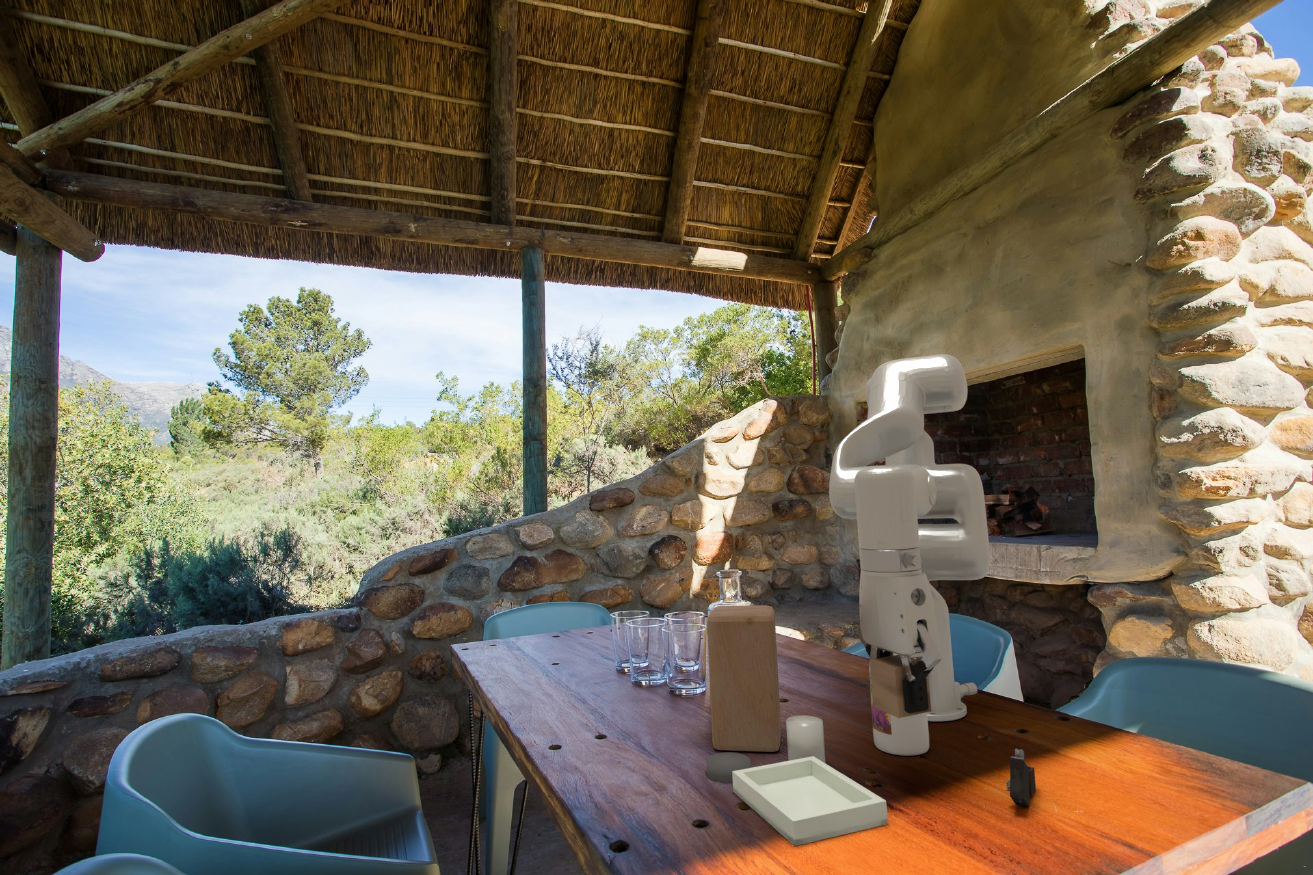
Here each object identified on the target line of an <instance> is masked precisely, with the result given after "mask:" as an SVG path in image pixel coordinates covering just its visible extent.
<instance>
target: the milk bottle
mask: <svg viewBox="0 0 1313 875" xmlns="http://www.w3.org/2000/svg"><path fill="white" fill-rule="evenodd" d="M883 651H884V650H883ZM914 652H915V649H914ZM894 655H899V654H896V653H893V656H894ZM914 659H916V658H914ZM868 664H869V670H868V671H869V691H870V704H871V705H870V707H871V708H870V709H871V718H872V719H871V720H872V721H871V722H872V733H873V734H872V735H873V742H874V746H875V747H876V748H877V749H878V750H879V751H881V752H884V753H887V754H891V755H897V756H906V757H907V756H908V757H909V756H918V755H922V754H925V753H927V752H928V751H929V748H930V734H929V721H928V719H927V712H926V713H922V714H917V715H912V716H907V717H902V718H897V717H895V716H893V715H891V714H889V713H886V712H884V711H882V710H880V709H878V708H876V707H873V699H872V686H871V673H870V663H868Z"/></svg>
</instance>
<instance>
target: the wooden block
mask: <svg viewBox="0 0 1313 875" xmlns="http://www.w3.org/2000/svg"><path fill="white" fill-rule="evenodd" d="M776 630H777V629H776V613H775V609H774V607H773V606H770V605H765V604H764V605H761V604H760V605H718V606H715V607H714V608H713V609H712V611H711V612H710V613H709V615H708V617H707V620H706V631H707V634H706V636H707V650H708V654H707V656H708V673H709V674H708V676H709V696H710V698H709V700H710V714H711V716H710V717H711V718H710V719H711V721H710V722H711V739H712V740H711V741H712V745H713V747H714V749H715V750H718V751H727V752H728V751H729V752H730V751H732V752H759V753H760V752H761V753H763V752H764V753H765V752H766V753H775V752H778V751H779V749H780V746H781V736H782V734H781V733H782V720H781V717H782V716H781V700H780V684H779V683H780V682H779V680H780V679H779V666H778V663H779V662H778V651H777V650H778V647H777V631H776Z"/></svg>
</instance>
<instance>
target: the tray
mask: <svg viewBox="0 0 1313 875" xmlns="http://www.w3.org/2000/svg"><path fill="white" fill-rule="evenodd" d="M732 776H733V783H732V790H733V791H732V792H733V793H734V794H735V795H736V796H738V798H740V799H741V801H743V802H744V803H745V804H746V805H748V806H749V808H750V809H752V810H753V811H754V812H755V813H757V814H758V815H759V816H760V817H761V818H762V819H764V821H766V822H767V823H768V824H769V825H770V826H771V827H773V829H775V830H776V831H777V832H778V833H779V834H781V836H783V838H785V839H786V840H787V841H788V842H789V843H790V844H792V845H793V846H794V847H797V846H800V845H805V844H809V843H814V842H818V841H822V840H827V839H830V838H835V837H839V836H843V835H847V834H852V833H856V832H861V831H864V830H865V831H866V830H869V829H873V828H878V827H882V826H887V825H888V824H889V821H888V820H889V819H888V807H887V800H886V799H884V798H883V797H881V796H879V795H877V794H876V793H874V792H872V791H871V790H870V789H868V788H866V787H864V786H863V785H861V784H859V783H858V782H856V781H855V780H853V779H852V778H849V777H848V776H846V775H845V774H843V773H841V772H840V771H838V770H836V769H835V768H833V767H832V766H830V765H828V764H827V763H826V762H825V763H824V762H822V761H820V760H819V759H817V758H815V757H814V756H812V757H807V758H801V759H796V760H791V761H788V760H786V761H785V760H784V761H781V762H776V763H775V762H774V763H771V764H765V765H764V764H763V765H758V766H754V767H751V768H748V769H742V770H737V771H732Z"/></svg>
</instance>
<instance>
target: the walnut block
mask: <svg viewBox="0 0 1313 875" xmlns="http://www.w3.org/2000/svg"><path fill="white" fill-rule="evenodd" d="M911 661H912V665H913V667H914V665H915V664H916V663H917V660H916V659H914V658H912V659H911ZM869 664H870V673H871V686H872V699H873V707H876V708H878V709H880V710H882V711H884V712H886V713H889V714H891V715H893V716H895V717H897V718H902V717H907V716H912V715H917V714H922V713H926V712H931V701H930V689H929V678H927V679H926V680H927V692H928V705H929V708H928V710H926V711H921V712H916V713H911V714H910V713H907V712H906V711H905V704H904V691H903V680H905V679H906V676H905V672H904V668H903V664H902V660H901V656H900V655H894V656H888V657H882V658H876V659H870V658H869ZM870 673H869V674H870Z"/></svg>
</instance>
